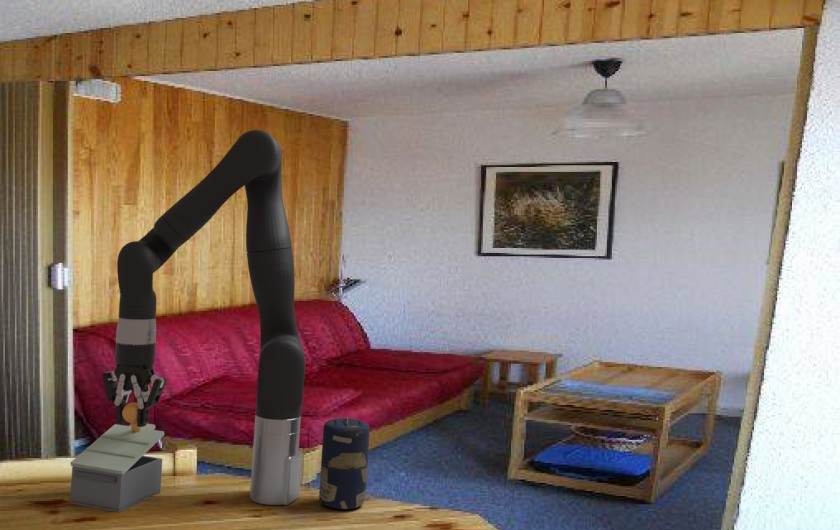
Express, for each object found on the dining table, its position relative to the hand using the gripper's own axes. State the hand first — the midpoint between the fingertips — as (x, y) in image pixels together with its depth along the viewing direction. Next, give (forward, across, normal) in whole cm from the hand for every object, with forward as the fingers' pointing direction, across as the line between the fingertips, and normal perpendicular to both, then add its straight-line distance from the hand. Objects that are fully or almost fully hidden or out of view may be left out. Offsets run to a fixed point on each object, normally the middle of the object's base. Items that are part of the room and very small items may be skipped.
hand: (131, 424), depth 156 cm
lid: (+4, 0, +3) cm, 5 cm away
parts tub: (+14, 0, +4) cm, 14 cm away
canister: (+14, -41, -14) cm, 46 cm away
